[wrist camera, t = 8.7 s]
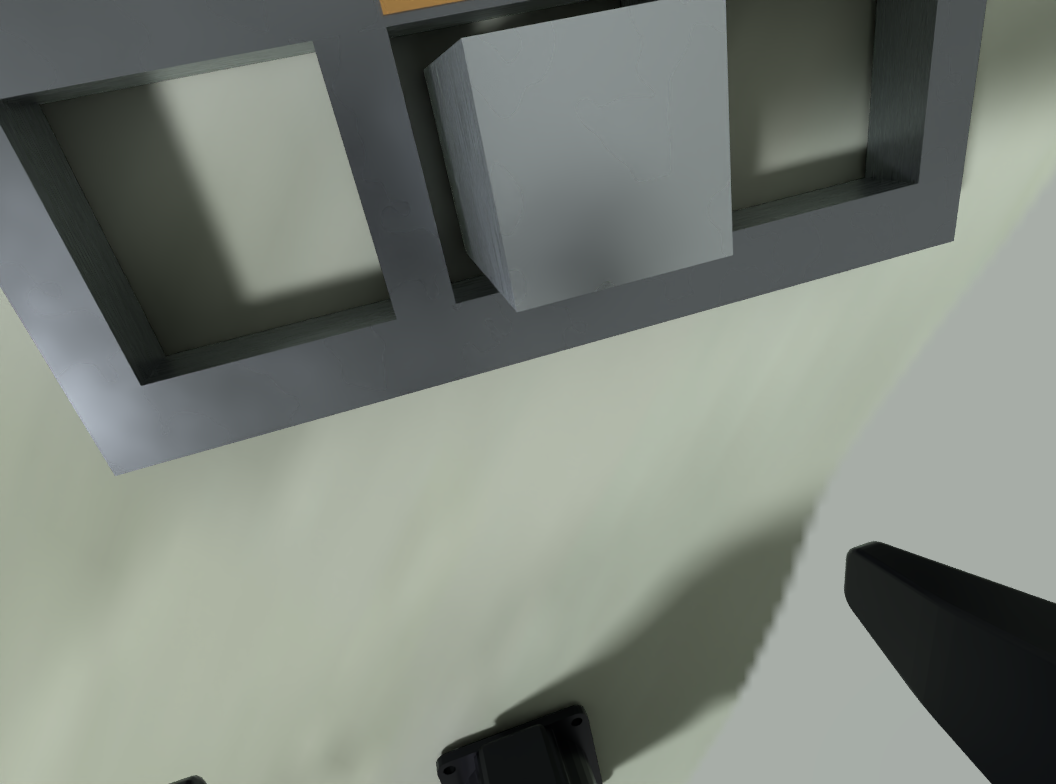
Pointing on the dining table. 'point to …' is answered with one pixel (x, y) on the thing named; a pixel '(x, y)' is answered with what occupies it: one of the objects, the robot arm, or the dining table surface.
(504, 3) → the grey slotted frame
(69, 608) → the dining table surface
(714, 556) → the dining table surface
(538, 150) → the steel block
